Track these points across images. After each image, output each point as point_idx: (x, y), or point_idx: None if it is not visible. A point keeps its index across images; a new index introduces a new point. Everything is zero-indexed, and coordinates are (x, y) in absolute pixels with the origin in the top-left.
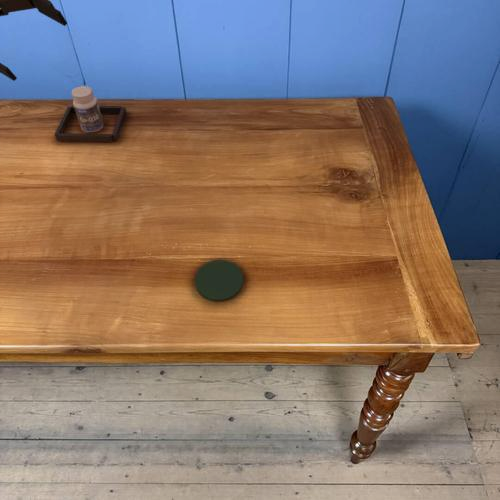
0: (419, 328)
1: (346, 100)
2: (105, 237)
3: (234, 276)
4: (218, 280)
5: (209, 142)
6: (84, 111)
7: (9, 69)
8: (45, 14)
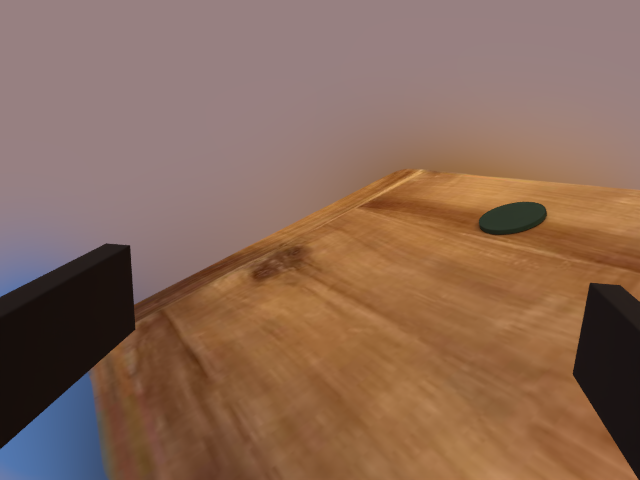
0: (416, 175)
1: None
2: None
3: (493, 214)
4: (513, 214)
5: (271, 388)
6: None
7: (587, 300)
8: (35, 402)
